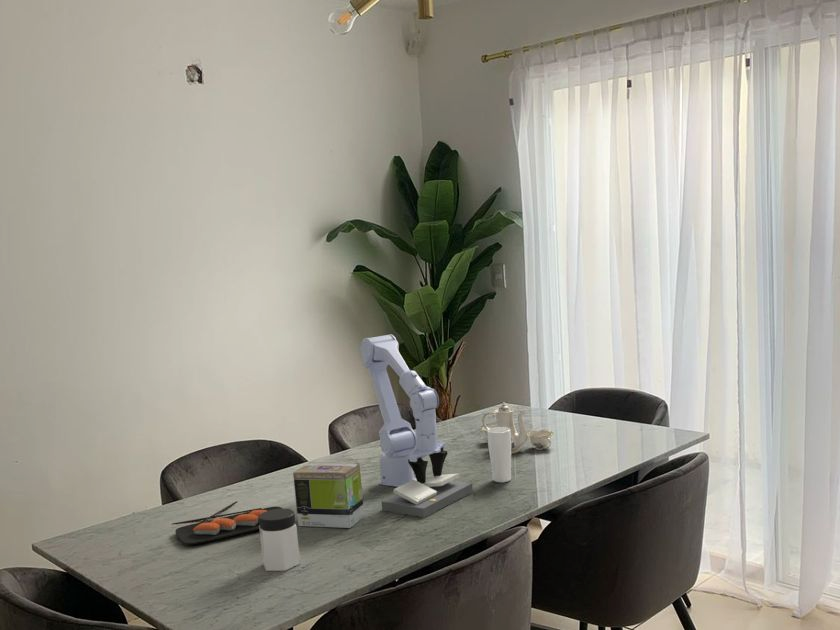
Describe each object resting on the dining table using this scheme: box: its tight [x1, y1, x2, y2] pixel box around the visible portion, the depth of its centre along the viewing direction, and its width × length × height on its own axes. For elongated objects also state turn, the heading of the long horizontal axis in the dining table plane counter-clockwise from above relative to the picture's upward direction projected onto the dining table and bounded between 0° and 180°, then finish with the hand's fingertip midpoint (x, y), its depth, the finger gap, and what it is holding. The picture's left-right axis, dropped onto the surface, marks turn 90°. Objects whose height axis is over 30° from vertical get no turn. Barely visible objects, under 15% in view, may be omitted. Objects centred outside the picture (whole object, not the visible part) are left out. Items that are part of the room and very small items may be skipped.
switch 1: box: [393, 480, 437, 505], centre depth 232 cm, size 8×9×1 cm
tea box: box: [292, 462, 365, 529], centre depth 226 cm, size 15×10×15 cm, turn 71°
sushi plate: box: [171, 501, 284, 546], centre depth 233 cm, size 29×30×4 cm
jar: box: [259, 508, 301, 572], centre depth 199 cm, size 9×8×12 cm
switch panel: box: [381, 477, 474, 519], centre depth 237 cm, size 14×23×3 cm, turn 144°
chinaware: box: [478, 401, 554, 455], centre depth 284 cm, size 28×17×17 cm, turn 58°
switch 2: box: [423, 472, 461, 487], centre depth 241 cm, size 8×9×1 cm
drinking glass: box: [487, 427, 512, 483], centre depth 250 cm, size 7×7×15 cm
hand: (429, 480), depth 243 cm, fingers open, 7 cm apart
